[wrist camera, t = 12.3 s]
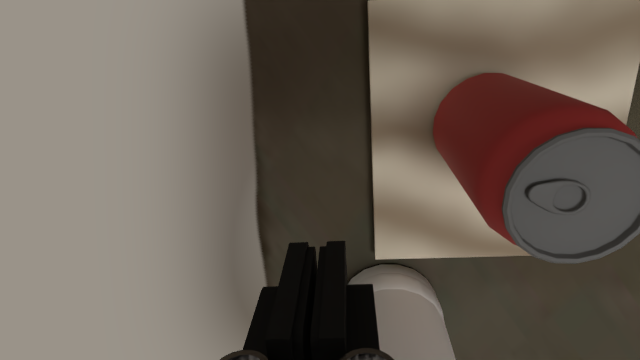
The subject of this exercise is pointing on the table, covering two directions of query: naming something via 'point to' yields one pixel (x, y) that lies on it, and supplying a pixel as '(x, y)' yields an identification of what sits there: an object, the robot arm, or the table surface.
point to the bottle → (407, 314)
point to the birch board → (453, 68)
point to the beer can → (542, 166)
